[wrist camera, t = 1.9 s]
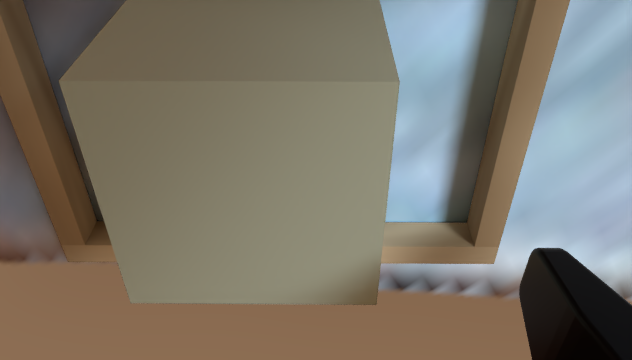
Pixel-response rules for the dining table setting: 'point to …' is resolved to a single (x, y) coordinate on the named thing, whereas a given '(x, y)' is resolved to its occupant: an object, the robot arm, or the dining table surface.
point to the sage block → (240, 147)
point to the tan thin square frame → (399, 237)
